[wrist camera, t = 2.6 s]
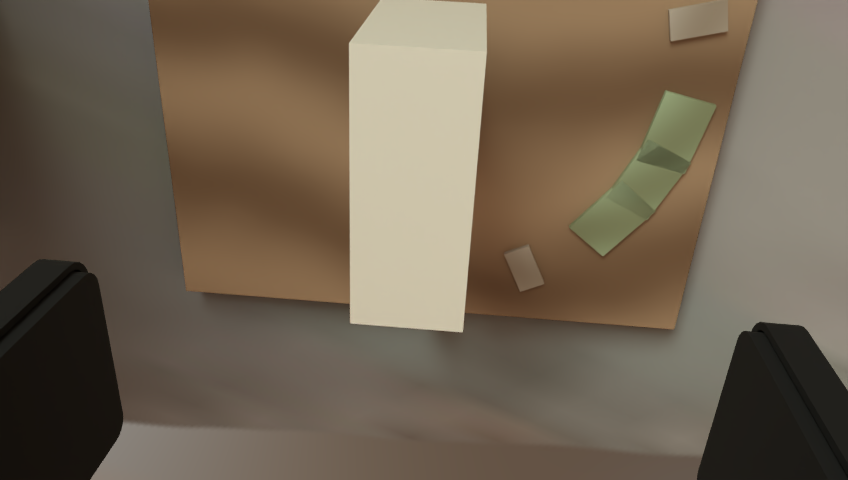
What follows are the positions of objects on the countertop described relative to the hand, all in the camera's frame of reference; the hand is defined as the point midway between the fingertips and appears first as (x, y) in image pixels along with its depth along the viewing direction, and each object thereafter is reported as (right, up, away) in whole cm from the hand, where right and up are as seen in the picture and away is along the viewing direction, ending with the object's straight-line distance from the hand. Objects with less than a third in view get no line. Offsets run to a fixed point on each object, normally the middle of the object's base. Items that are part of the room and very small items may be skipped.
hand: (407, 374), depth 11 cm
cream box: (+1, +5, +15) cm, 16 cm away
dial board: (+1, +9, +15) cm, 17 cm away
